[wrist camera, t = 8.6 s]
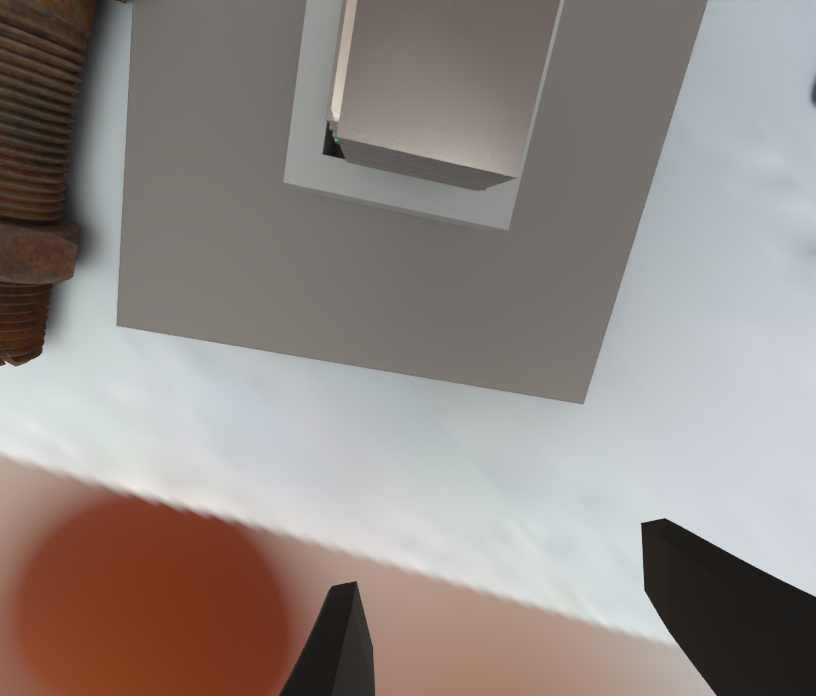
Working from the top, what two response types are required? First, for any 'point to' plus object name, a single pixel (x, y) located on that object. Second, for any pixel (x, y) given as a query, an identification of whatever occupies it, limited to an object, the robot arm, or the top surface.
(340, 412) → the top surface
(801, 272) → the top surface
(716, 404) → the top surface
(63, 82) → the bolt
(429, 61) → the tall silver metal block
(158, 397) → the top surface
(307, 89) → the jack base
